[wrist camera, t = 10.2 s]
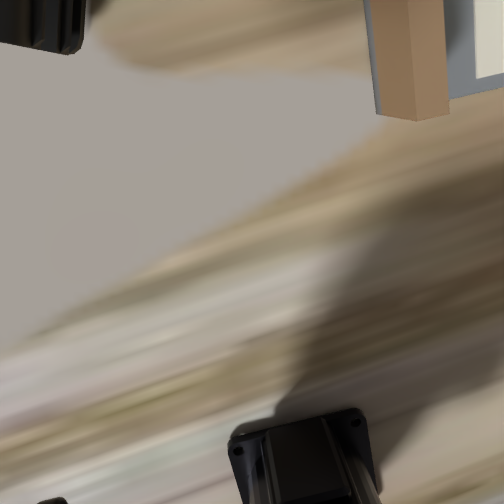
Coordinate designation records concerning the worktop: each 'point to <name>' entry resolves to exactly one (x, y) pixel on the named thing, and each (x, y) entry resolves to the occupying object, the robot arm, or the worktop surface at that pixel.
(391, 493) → the worktop surface
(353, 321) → the worktop surface
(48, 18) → the end cap
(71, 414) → the worktop surface
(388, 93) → the arena
